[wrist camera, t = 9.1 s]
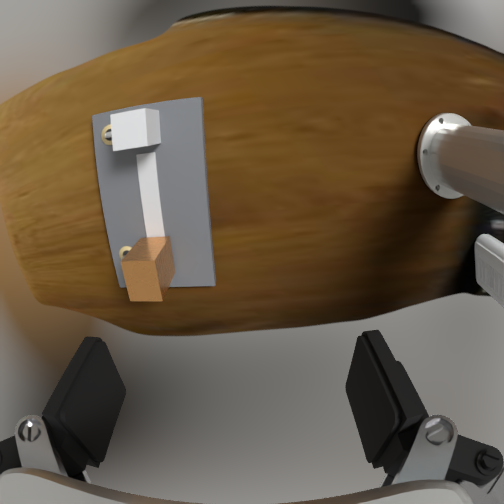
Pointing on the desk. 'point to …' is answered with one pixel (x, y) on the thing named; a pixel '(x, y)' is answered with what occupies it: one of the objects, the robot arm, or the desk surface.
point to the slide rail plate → (157, 184)
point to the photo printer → (490, 266)
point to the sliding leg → (149, 269)
